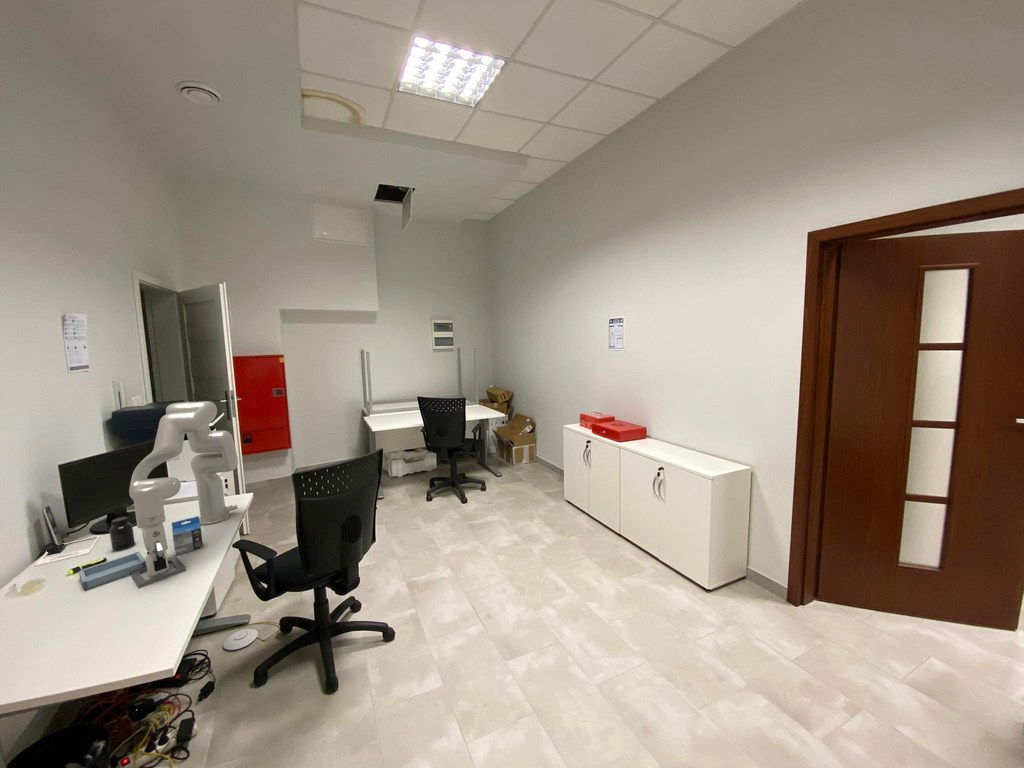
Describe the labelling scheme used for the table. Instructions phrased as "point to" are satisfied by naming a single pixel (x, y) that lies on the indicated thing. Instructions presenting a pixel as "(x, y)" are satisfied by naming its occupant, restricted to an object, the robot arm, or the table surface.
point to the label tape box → (187, 535)
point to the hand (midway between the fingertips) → (157, 565)
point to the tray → (111, 570)
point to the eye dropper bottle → (151, 565)
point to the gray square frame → (141, 582)
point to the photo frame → (67, 555)
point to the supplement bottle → (121, 534)
